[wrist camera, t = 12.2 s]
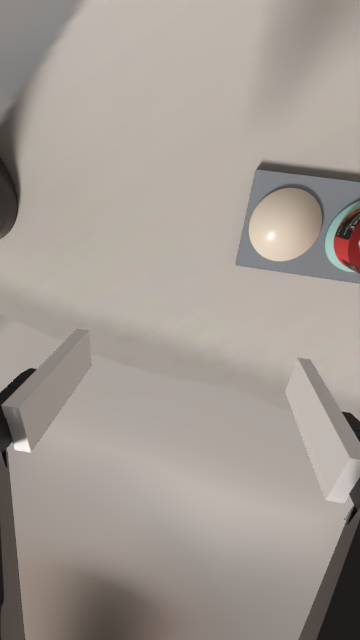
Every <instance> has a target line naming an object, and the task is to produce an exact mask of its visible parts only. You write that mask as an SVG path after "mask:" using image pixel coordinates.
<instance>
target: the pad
mask: <svg viewBox="0 0 360 640" xmlns="http://www.w3.org/2000/svg"><path fill="white" fill-rule="evenodd" d="M358 208H360V201H357V202H355V203H353V204H351V205H349V206H347V207H346V208H344V209H343V210H342V211H341V212H339V213H338V214H337V215H336V217H335V218H334V219H333V220H332V222H331V223H330V225H329V227H328V229H327V231H326V234H325V238H324V250H325V254H326V256H327V258H328V259H329V261H330V262H331V263H332V264H333V265H334V266H336V267H337V268H339V269H341V270H344V271H348V272H355V271H353V270H351V269H349V268H348V267H346V266H344V265H343V264H342V263H341V262H340V261H339V260H338V258H337V256H336V254H335V251H334V236H335V233H336V231H337V229H338V227H339V225H340V224H341V222H342V221H343V220H344V219H345V218H346V217H347V216H348V215H349V214H350V213H352V212H353V211H355V210H356V209H358Z"/></svg>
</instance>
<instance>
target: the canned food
mask: <svg viewBox="0 0 360 640" xmlns="http://www.w3.org/2000/svg"><path fill="white" fill-rule="evenodd" d="M334 251H335V254H336V256H337V258H338V260H339V261H340V262H341V263H342V264H343V265H344V266H346V267H348V268H349V269H351V270H353V271H355V272H357V273H358V274H360V208H358V209H356V210H355V211H353V212H352V213H350V214H349V215H348V216H347V217H346V218H345V219H344V220H343V221H342V222H341V224H340V225H339V227H338V229H337V231H336V233H335V236H334Z"/></svg>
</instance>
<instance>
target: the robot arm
mask: <svg viewBox="0 0 360 640" xmlns="http://www.w3.org/2000/svg"><path fill="white" fill-rule="evenodd" d="M16 213H17V198H16V192H15V188H14V185H13V182H12V179H11V177H10V174H9V172H8V170H7V169H6V167H5V165H4V164H3V162H2V161H1V159H0V239H1V238H3V237H4V236H5V235H6V234H7V233H8V232H9V231H10V230H11V228H12V226H13V224H14V222H15V218H16ZM91 365H92V364H91V353H90V341H89V331H88V330H81V329H76V331H75V332H74V333H73V334H72V335H71V336H70V337H69V338H68V339H67V340H66V341H65V342H64V343H63V344H62V345H61V346H60V347H59V348H58V349H57V350H56V351H55V352H54V353H53V354H52V355H51V356H50V357H49V358H48V359H47V360H46V361H45V362H44V363H43V364H42V365H41V366H40V367H39V368H38V369H33V368H30V369H28V370H27V371H24V372H23V373H21V374H20V375H19V376H17V377H16V378H15V379H14V380H13V382H11V383H10V384H9V385H8V386H7V388H5V389H4V390H3V391H2V392H1V393H0V640H25V634H24V624H23V613H22V603H21V592H20V581H19V570H18V560H17V548H16V538H15V527H14V516H13V505H12V496H11V484H10V473H9V463H8V452H7V449H6V448H7V447H8V446H9V445H10V443H11V442H13V445H14V448H15V450H19V451H26V452H32V450H33V449H34V447H35V446H36V444H37V443H38V442H39V440H40V439H41V437H42V436H43V434H44V433H45V432H46V430H47V429H48V427H49V426H50V424H51V423H52V421H53V420H54V419H55V417H56V416H57V414H58V413H59V411H60V410H61V409H62V407H63V406H64V404H65V403H66V401H67V400H68V399H69V397H70V396H71V394H72V393H73V391H74V390H75V389H76V387H77V386H78V384H79V383H80V381H81V380H82V378H83V377H84V376H85V374H86V373H87V371H88V370H89V368H90V367H91ZM285 393H286V396H287V398H288V401H289V404H290V406H291V409H292V412H293V414H294V417H295V420H296V422H297V425H298V428H299V430H300V433H301V436H302V439H303V441H304V444H305V446H306V449H307V452H308V455H309V457H310V460H311V463H312V465H313V468H314V471H315V473H316V476H317V479H318V482H319V484H320V487H321V490H322V492H323V495H324V498H325V500H327V501H333V502H340V503H344V502H345V501H346V499H347V498H348V496H349V495H350V497H351V499H352V501H353V503H354V506H353V507H352V509H351V510H350V512H349V513H348V515H347V516H346V517H345V520H346V523H345V526H344V528H343V531H342V533H341V536H340V538H339V541H338V543H337V546H336V548H335V551H334V553H333V556H332V558H331V561H330V563H329V566H328V568H327V571H326V573H325V575H324V578H323V580H322V583H321V586H320V588H319V590H318V593H317V596H316V598H315V601H314V603H313V605H312V608H311V610H310V613H309V615H308V618H307V620H306V623H305V625H304V628H303V630H302V633H301V635H300V638H299V640H360V421H359V420H358V419H356V418H355V417H354V416H353V415H352V414H351V413H347V412H341V410H340V408H339V407H338V405H337V403H336V402H335V400H334V398H333V397H332V395H331V393H330V392H329V390H328V388H327V387H326V385H325V383H324V382H323V380H322V378H321V377H320V375H319V373H318V372H317V370H316V368H315V366H314V365H313V363H312V361H311V360H310V359H302V358H297V361H296V364H295V366H294V369H293V372H292V375H291V378H290V381H289V383H288V386H287V389H286V392H285Z"/></svg>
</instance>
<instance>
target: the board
mask: <svg viewBox="0 0 360 640" xmlns="http://www.w3.org/2000/svg"><path fill="white" fill-rule="evenodd" d="M357 201H360V182H355V181H347V180H338V179H330V178H322V177H314V176H306V175H298V174H290V173H281V172H273V171H265V170H256V171H255V176H254V180H253V185H252V190H251V194H250V199H249V203H248V208H247V213H246V217H245V222H244V227H243V231H242V236H241V241H240V245H239V250H238V254H237V259H236V265H237V266H244V267H251V268H257V269H264V270H271V271H278V272H284V273H291V274H298V275H304V276H311V277H318V278H325V279H331V280H338V281H345V282H352V283H358V284H360V274H358V273H357V272H348V271H344V270H341V269H339V268H337V267H336V266H334V265H333V264H332V263H331V262H330V261H329V259H328V258H327V256H326V254H325V250H324V238H325V234H326V231H327V229H328V227H329V225H330V223H331V222H332V220H333V219H334V218H335V217H336V215H337V214H338V213H339V212H341V211H342V210H343V209H344V208H346V207H347V206H349V205H351V204H353V203H355V202H357Z"/></svg>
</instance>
